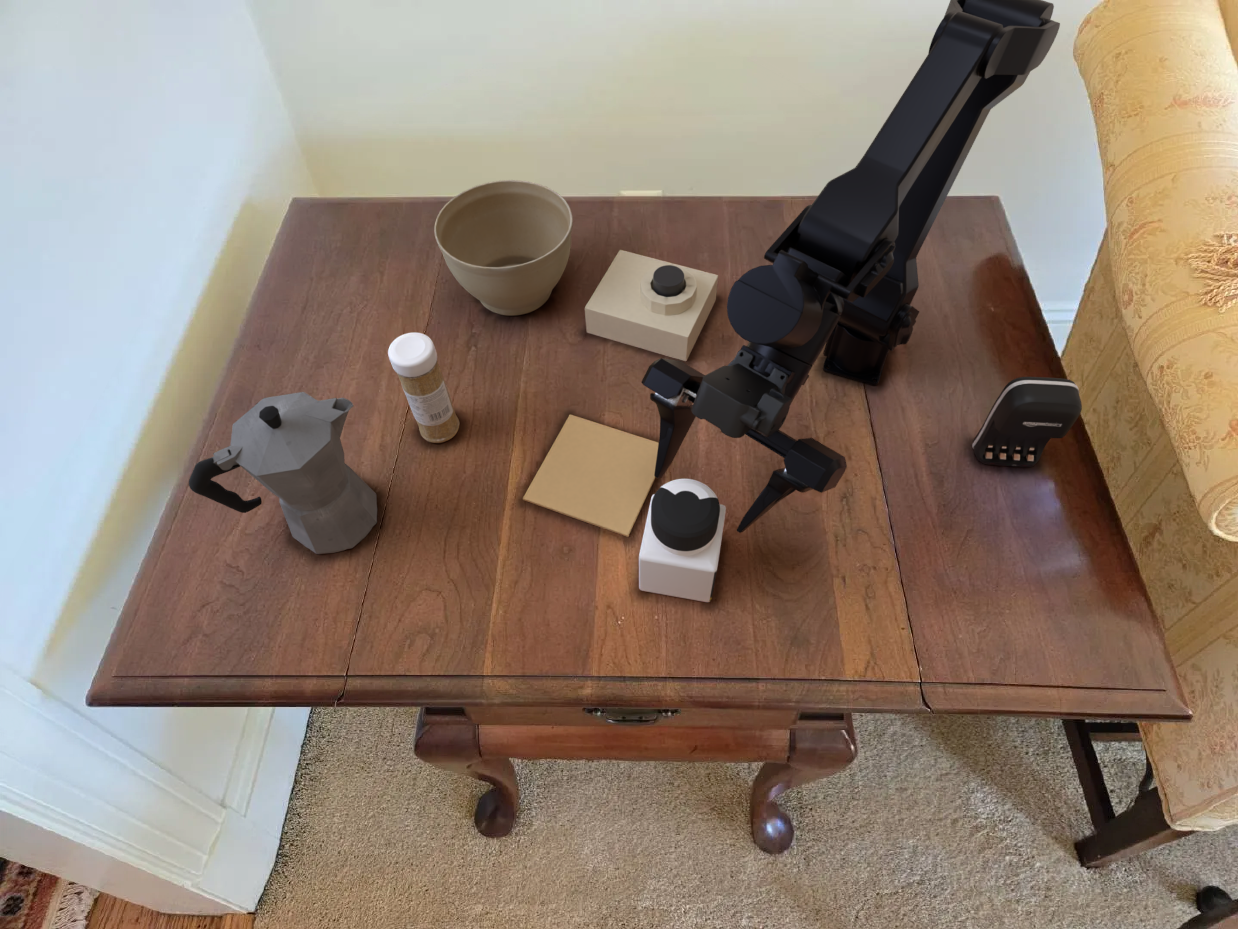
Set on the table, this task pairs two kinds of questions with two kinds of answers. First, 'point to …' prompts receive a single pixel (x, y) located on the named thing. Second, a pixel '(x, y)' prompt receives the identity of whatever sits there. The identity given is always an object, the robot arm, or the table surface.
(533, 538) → the table surface
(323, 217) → the table surface
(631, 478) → the cork mat
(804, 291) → the robot arm
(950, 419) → the table surface
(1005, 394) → the battery charger
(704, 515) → the medicine bottle
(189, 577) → the table surface
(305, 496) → the coffeepot
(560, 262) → the planter bowl
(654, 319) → the push button box
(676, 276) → the power button
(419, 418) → the sprinkles bottle
